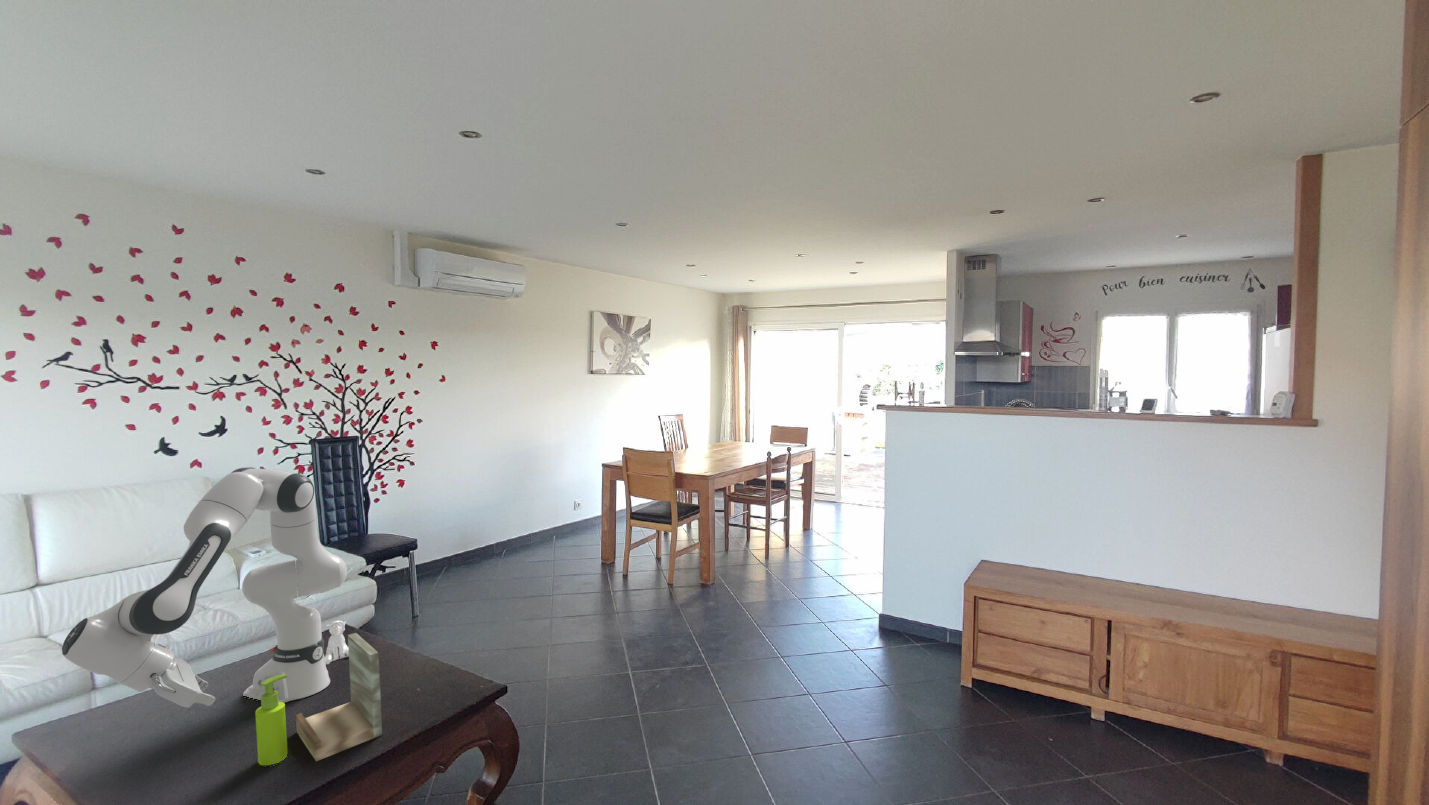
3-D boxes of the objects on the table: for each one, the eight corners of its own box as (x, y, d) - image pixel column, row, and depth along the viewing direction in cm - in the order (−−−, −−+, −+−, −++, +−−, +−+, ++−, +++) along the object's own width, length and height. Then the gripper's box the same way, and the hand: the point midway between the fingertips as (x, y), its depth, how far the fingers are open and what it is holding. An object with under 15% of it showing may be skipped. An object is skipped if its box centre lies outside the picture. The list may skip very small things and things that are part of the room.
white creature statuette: (323, 666, 201) (322, 629, 201) (317, 657, 207) (315, 622, 207) (356, 656, 208) (355, 621, 207) (349, 648, 214) (348, 614, 213)
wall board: (316, 761, 152) (311, 673, 151) (296, 732, 164) (292, 651, 163) (382, 734, 163) (378, 652, 162) (359, 709, 175) (355, 632, 174)
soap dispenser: (297, 753, 155) (293, 675, 154) (267, 769, 149) (262, 688, 148) (282, 747, 158) (278, 670, 157) (252, 763, 152) (248, 683, 150)
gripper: (168, 670, 131) (229, 697, 138) (157, 641, 145) (213, 667, 152) (140, 699, 128) (204, 725, 135) (132, 666, 142) (191, 692, 149)
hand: (209, 694), depth 144 cm, fingers open, 8 cm apart
